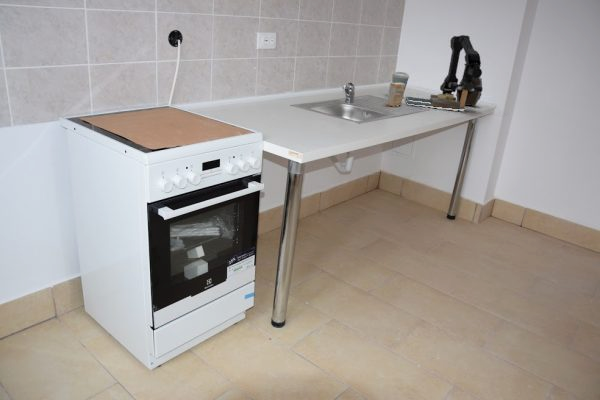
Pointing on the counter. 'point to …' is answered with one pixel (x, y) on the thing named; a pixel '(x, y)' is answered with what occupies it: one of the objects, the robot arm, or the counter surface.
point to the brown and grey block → (463, 98)
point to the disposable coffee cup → (400, 78)
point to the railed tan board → (444, 102)
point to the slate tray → (418, 100)
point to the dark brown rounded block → (473, 93)
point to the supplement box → (395, 94)
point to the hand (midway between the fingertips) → (462, 101)
